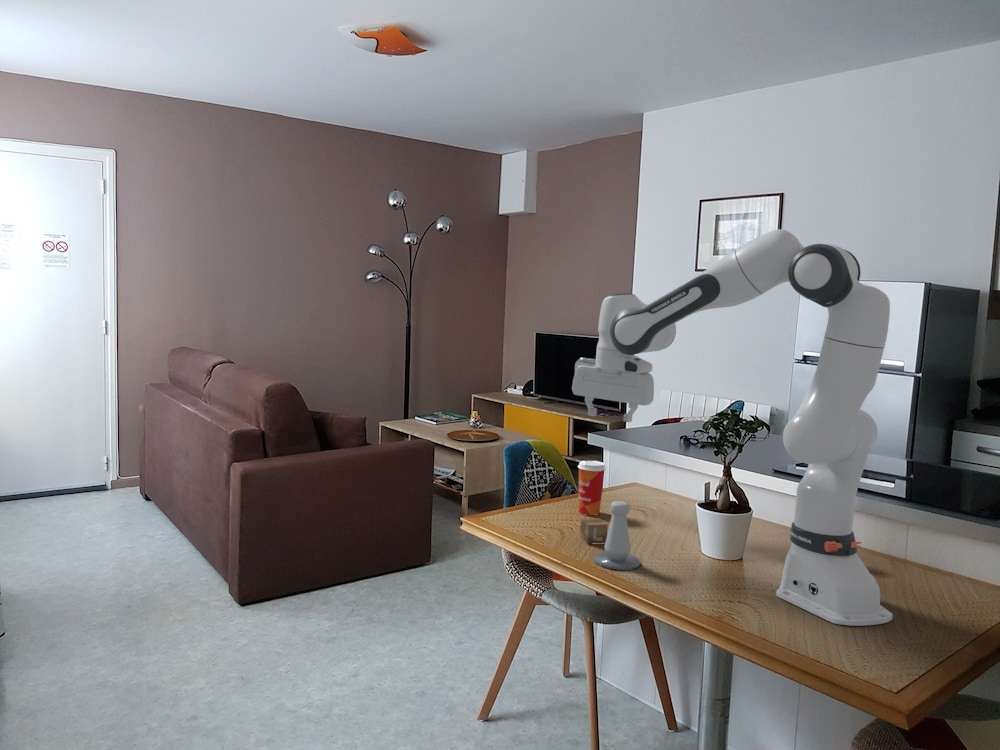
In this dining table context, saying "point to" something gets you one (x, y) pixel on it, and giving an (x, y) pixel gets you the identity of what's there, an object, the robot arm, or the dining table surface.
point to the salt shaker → (618, 533)
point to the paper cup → (590, 486)
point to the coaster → (628, 564)
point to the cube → (593, 530)
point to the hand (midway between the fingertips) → (609, 418)
